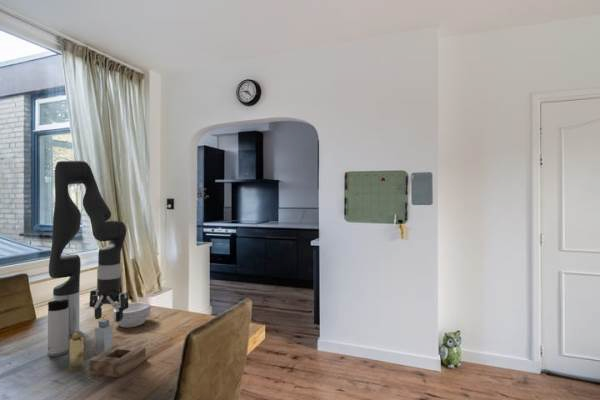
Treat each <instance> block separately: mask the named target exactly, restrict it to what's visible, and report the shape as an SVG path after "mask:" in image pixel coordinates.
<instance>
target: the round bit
mask: <svg viewBox="0 0 600 400" xmlns="http://www.w3.org/2000/svg"><path fill="white" fill-rule="evenodd" d="M71 336H72V337H71V338H70V339H69V358H68V359H69V364H68V365H69V372H77V371H81V370H83V369H84V367H85V363H84V362H85V360H84V358H85V357H84V356H85V353H84V352H85V351H84V349H85V346H84V345H85V342H84V341H85V340H84V339H85V337H84V336H82V332H81V331H79V332H75V333H73V334H72V335H71Z"/></svg>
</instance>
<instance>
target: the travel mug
mask: <svg viewBox="0 0 600 400" xmlns="http://www.w3.org/2000/svg"><path fill="white" fill-rule="evenodd" d="M68 308H69V307H68V300H67V299H65V300H60V301H57V300H55V301H53V300H51V301H48V302H47V356H48V357H53V358H55V357H60V356H64V355H65V354H66V353H68V352H69V351H70V339H69V337H70V336H69V309H68Z"/></svg>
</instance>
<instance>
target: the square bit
mask: <svg viewBox="0 0 600 400" xmlns="http://www.w3.org/2000/svg"><path fill="white" fill-rule="evenodd" d="M113 326H114V325H113V324H112V323H110V319H108V318H107V319H106V318H105V319H104V318H103V319H101V320H99V321H98V326H95V327H94V355H96V356H97V355H99V354H101V353H103V352H104V351H106V350H108V349H109V348H111V347H113V333H114V332H113V331H114V330H113Z"/></svg>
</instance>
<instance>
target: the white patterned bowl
mask: <svg viewBox="0 0 600 400" xmlns="http://www.w3.org/2000/svg"><path fill="white" fill-rule="evenodd" d="M124 305H125V304H124ZM118 307H119V306H118ZM116 312H117V311H116V309H115V308H114V309H113V310H112V315H113V316H112V320H113V322H114V323H117V324H118V325H119V327H121V328H134V327H137V326H141V325H143V324H144V323H145V321H146V319H147V318H149V317H150V316H151V304H150V303H149V302H142V301H141V302H132V303H131V302H130V303H129V302H128V308H127V309H125V310H123V318H122V320H121V321H119V322H116Z"/></svg>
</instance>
